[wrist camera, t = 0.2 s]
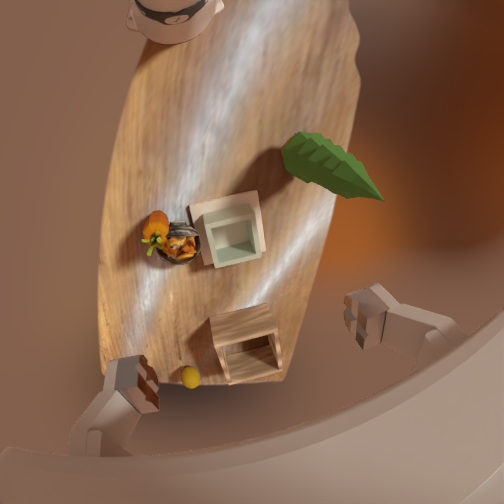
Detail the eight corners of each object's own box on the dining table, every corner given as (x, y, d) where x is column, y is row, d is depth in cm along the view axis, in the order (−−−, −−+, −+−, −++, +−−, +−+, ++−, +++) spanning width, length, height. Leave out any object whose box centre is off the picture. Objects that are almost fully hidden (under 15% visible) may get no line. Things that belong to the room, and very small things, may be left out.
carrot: (154, 228, 55) (150, 266, 43) (142, 208, 53) (133, 242, 40) (174, 216, 55) (176, 252, 43) (163, 196, 53) (160, 227, 40)
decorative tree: (280, 179, 57) (360, 239, 31) (264, 138, 52) (342, 164, 26) (320, 161, 57) (418, 207, 31) (306, 121, 52) (408, 137, 26)
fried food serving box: (209, 317, 69) (213, 345, 60) (266, 302, 71) (277, 328, 62) (223, 358, 77) (229, 385, 68) (272, 345, 79) (282, 370, 70)
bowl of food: (166, 256, 59) (166, 311, 44) (146, 212, 53) (136, 257, 38) (205, 242, 60) (218, 293, 45) (189, 196, 54) (195, 235, 39)
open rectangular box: (189, 204, 55) (189, 216, 49) (256, 189, 56) (265, 199, 50) (204, 263, 62) (206, 280, 56) (264, 248, 63) (273, 263, 57)
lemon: (187, 358, 74) (188, 380, 67) (202, 365, 77) (205, 386, 70) (176, 368, 75) (178, 389, 69) (192, 374, 78) (194, 395, 71)
